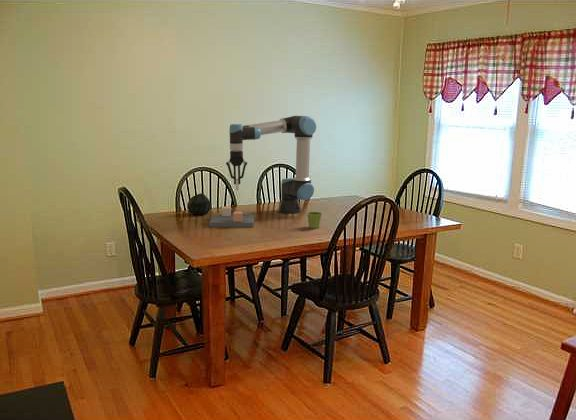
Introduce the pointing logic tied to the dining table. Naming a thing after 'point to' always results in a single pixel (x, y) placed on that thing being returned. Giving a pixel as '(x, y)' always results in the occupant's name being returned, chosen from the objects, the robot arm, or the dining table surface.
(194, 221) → the dining table surface
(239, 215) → the salmon orange block
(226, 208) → the block
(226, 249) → the dining table surface
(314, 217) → the plant pot
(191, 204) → the squash
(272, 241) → the dining table surface
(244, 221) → the console
